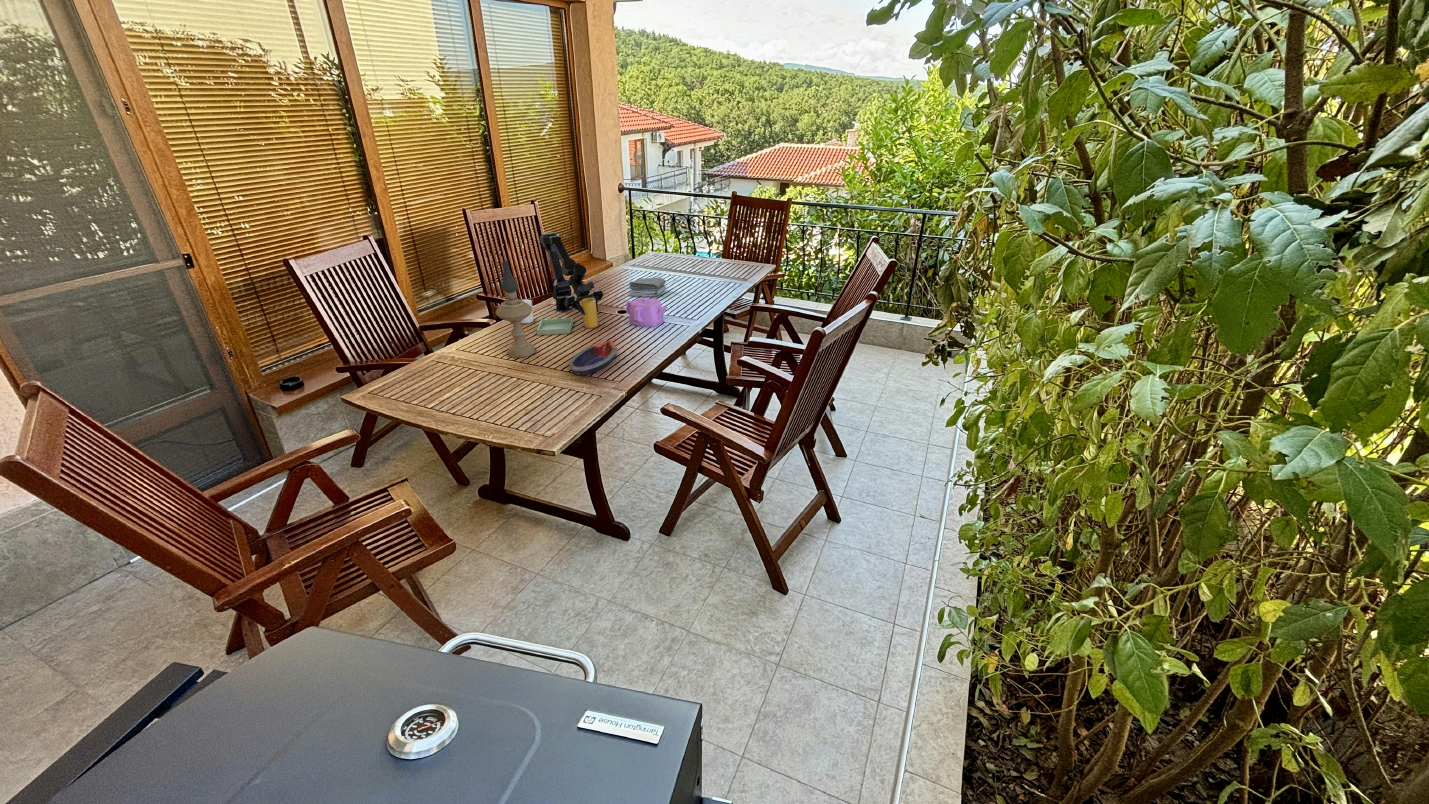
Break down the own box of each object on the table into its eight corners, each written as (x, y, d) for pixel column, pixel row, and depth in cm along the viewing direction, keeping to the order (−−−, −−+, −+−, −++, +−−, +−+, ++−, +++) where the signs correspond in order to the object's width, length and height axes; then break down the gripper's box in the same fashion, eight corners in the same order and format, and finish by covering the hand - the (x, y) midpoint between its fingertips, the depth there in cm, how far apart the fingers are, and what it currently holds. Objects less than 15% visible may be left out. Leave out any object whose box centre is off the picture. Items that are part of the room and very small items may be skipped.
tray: (542, 324, 295) (541, 319, 293) (573, 322, 296) (572, 317, 295) (537, 335, 281) (536, 330, 280) (569, 333, 282) (569, 328, 281)
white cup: (537, 318, 302) (534, 299, 298) (531, 324, 295) (528, 304, 291) (522, 318, 303) (518, 299, 298) (516, 323, 296) (512, 304, 291)
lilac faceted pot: (625, 319, 297) (623, 295, 292) (657, 314, 303) (656, 291, 298) (635, 330, 283) (633, 305, 278) (669, 325, 289) (667, 300, 284)
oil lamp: (496, 356, 258) (477, 265, 240) (518, 344, 271) (501, 256, 252) (526, 360, 254) (508, 267, 235) (546, 348, 266) (531, 258, 248)
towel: (659, 297, 329) (658, 283, 326) (627, 296, 333) (626, 282, 329) (666, 289, 342) (666, 276, 339) (636, 288, 346) (635, 275, 342)
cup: (591, 322, 295) (588, 297, 289) (601, 324, 292) (598, 299, 286) (581, 326, 290) (578, 300, 284) (591, 328, 287) (588, 302, 281)
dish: (559, 376, 239) (557, 364, 237) (598, 348, 265) (596, 337, 262) (593, 380, 234) (591, 369, 232) (629, 352, 260) (628, 341, 257)
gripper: (563, 280, 278) (576, 308, 276) (599, 273, 288) (612, 300, 285) (559, 293, 288) (571, 320, 285) (594, 285, 297) (606, 312, 294)
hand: (591, 313), depth 287 cm, fingers closed on cup, 6 cm apart
